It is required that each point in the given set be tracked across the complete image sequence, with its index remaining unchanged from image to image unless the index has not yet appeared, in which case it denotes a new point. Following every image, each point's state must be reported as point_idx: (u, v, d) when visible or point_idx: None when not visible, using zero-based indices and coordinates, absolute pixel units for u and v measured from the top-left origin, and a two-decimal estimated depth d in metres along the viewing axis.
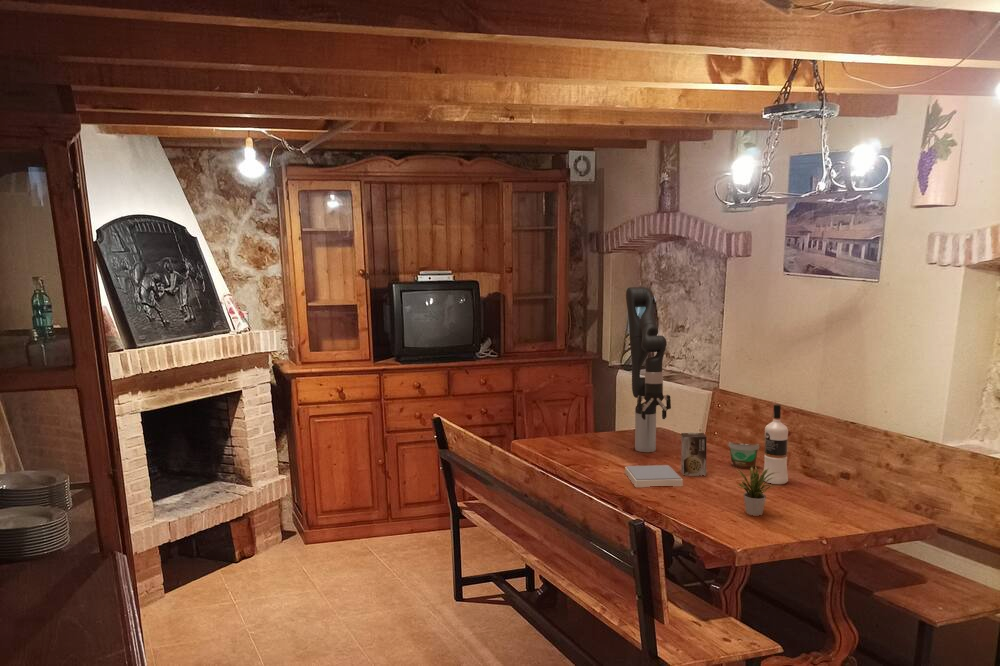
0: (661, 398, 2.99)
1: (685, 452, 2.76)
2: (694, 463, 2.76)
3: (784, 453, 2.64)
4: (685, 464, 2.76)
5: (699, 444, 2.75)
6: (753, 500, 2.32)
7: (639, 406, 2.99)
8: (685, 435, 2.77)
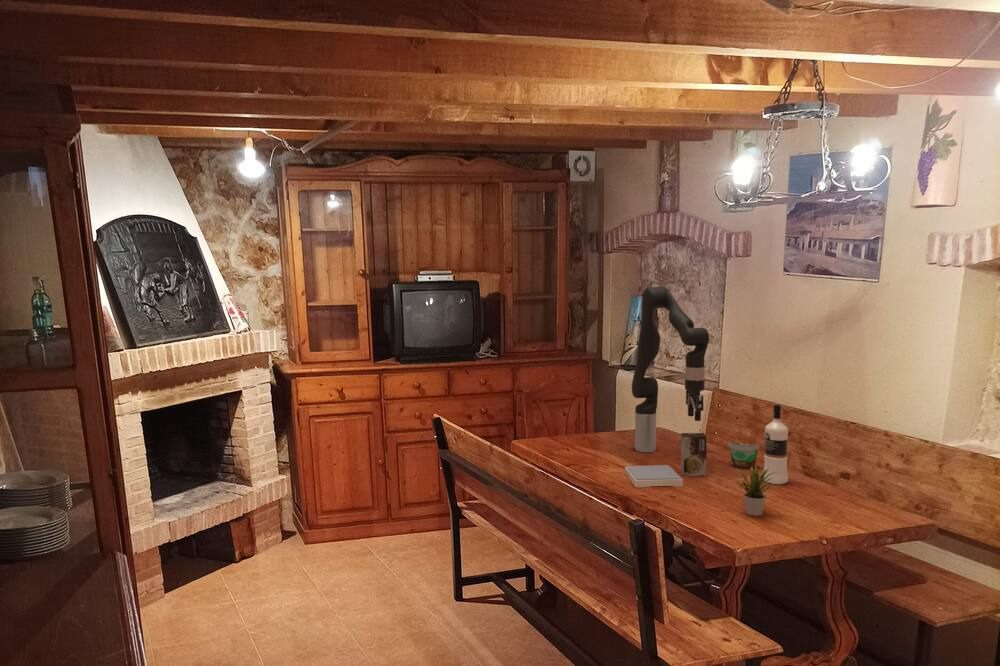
0: None
1: (685, 452, 2.76)
2: (694, 463, 2.76)
3: (784, 453, 2.64)
4: (685, 464, 2.76)
5: (699, 444, 2.75)
6: (753, 500, 2.32)
7: None
8: (685, 435, 2.77)
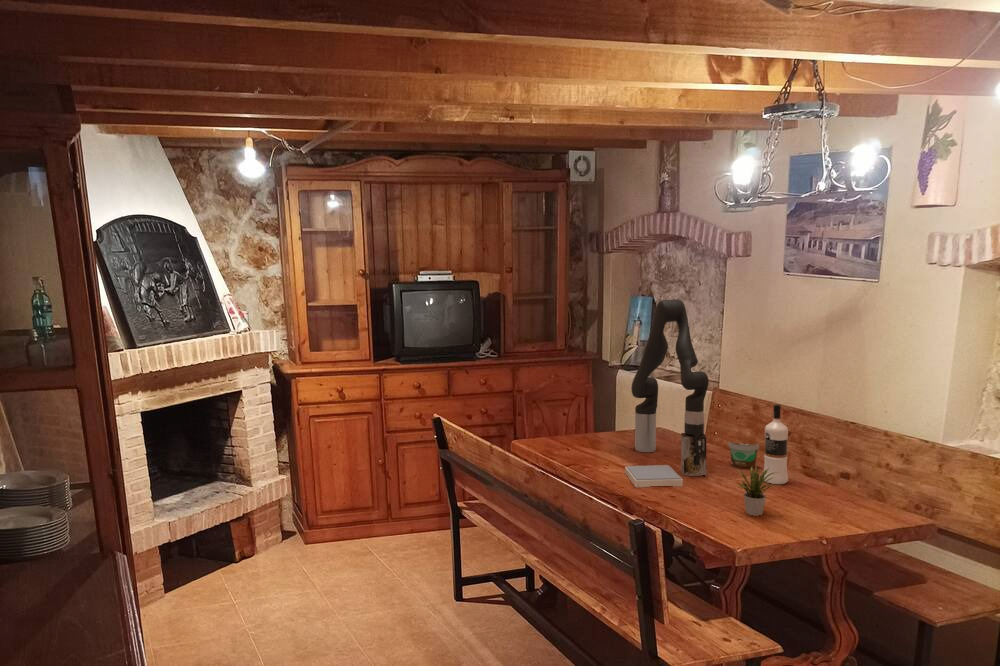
0: None
1: (685, 452, 2.76)
2: None
3: (784, 453, 2.64)
4: (685, 464, 2.76)
5: None
6: (753, 500, 2.32)
7: None
8: (685, 435, 2.77)
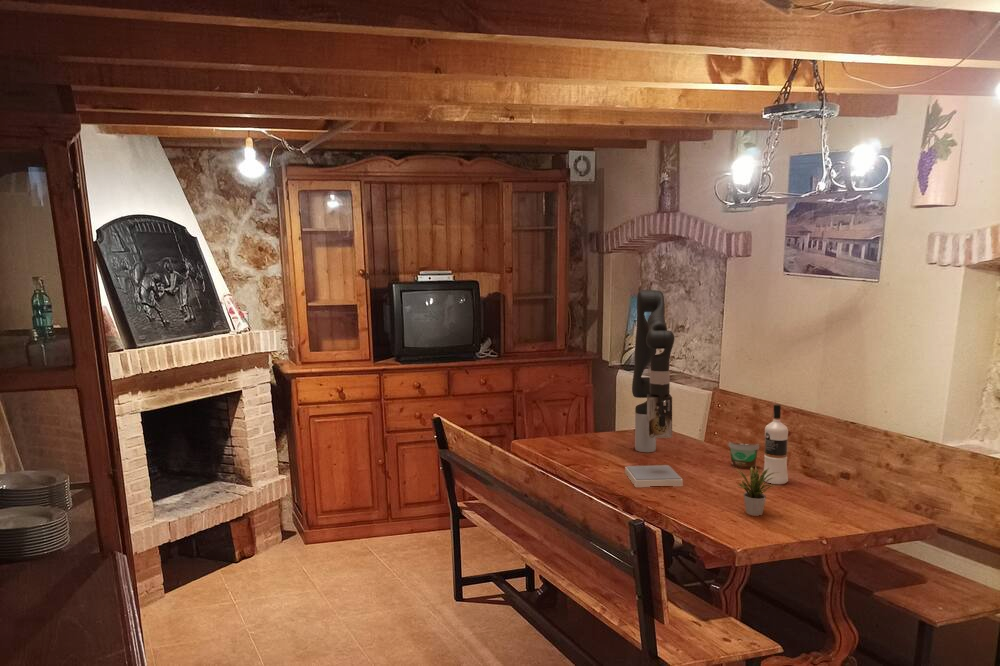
0: None
1: (650, 413, 2.68)
2: None
3: (784, 453, 2.64)
4: (650, 425, 2.68)
5: None
6: (753, 500, 2.32)
7: None
8: (650, 396, 2.69)
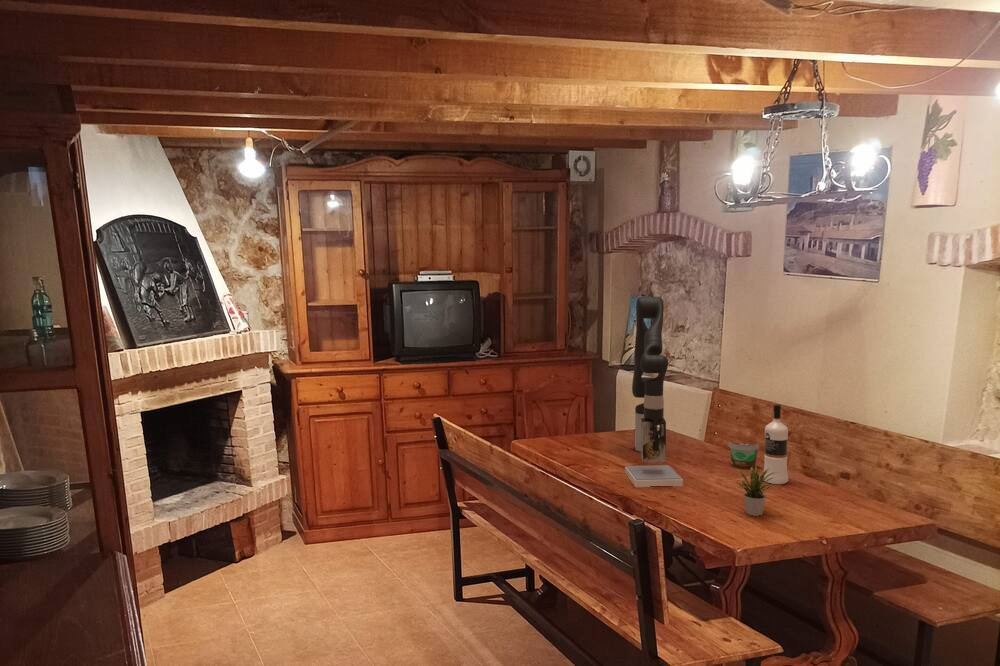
0: None
1: (644, 437, 2.68)
2: None
3: (784, 453, 2.64)
4: (644, 450, 2.69)
5: None
6: (753, 500, 2.32)
7: None
8: (644, 420, 2.70)
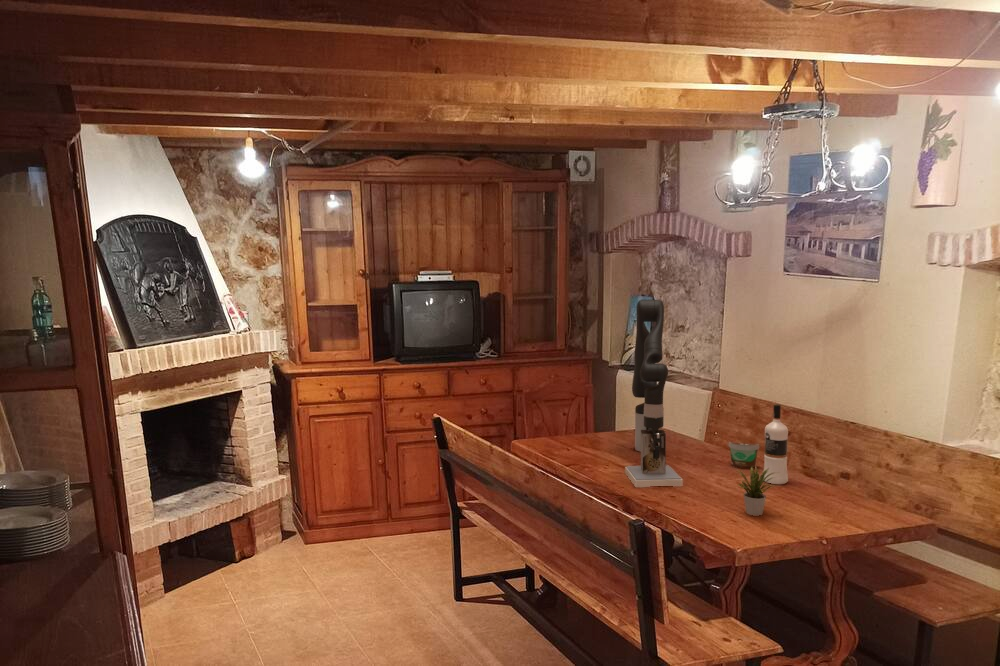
0: None
1: (644, 449, 2.69)
2: (653, 460, 2.69)
3: (784, 453, 2.64)
4: (644, 462, 2.69)
5: None
6: (753, 500, 2.32)
7: None
8: (644, 432, 2.70)
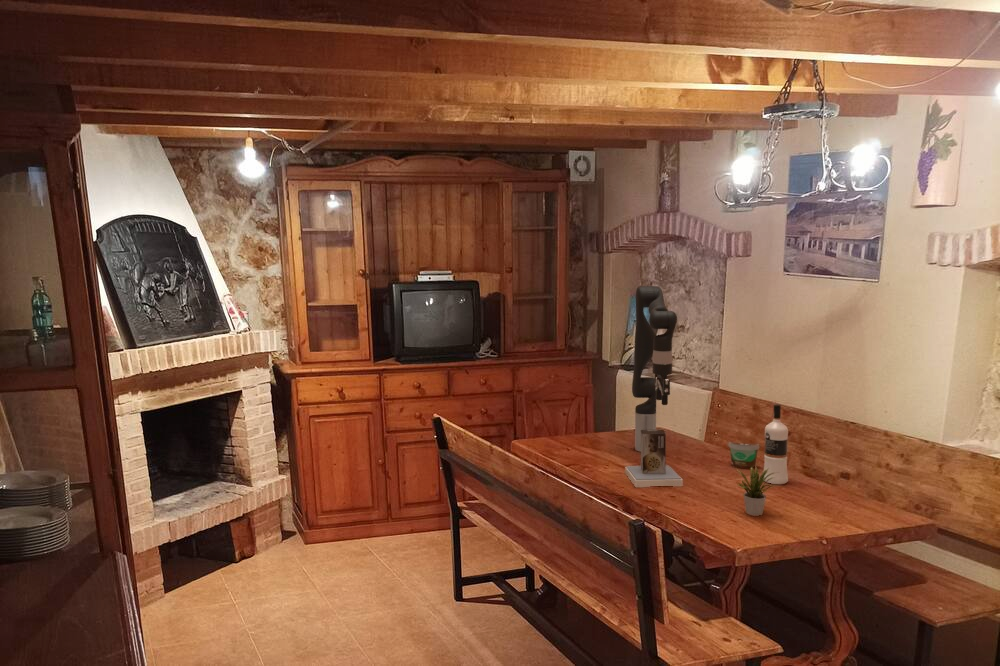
0: None
1: (644, 449, 2.69)
2: (653, 460, 2.69)
3: (784, 453, 2.64)
4: (644, 462, 2.69)
5: (658, 441, 2.68)
6: (753, 500, 2.32)
7: None
8: (644, 432, 2.70)
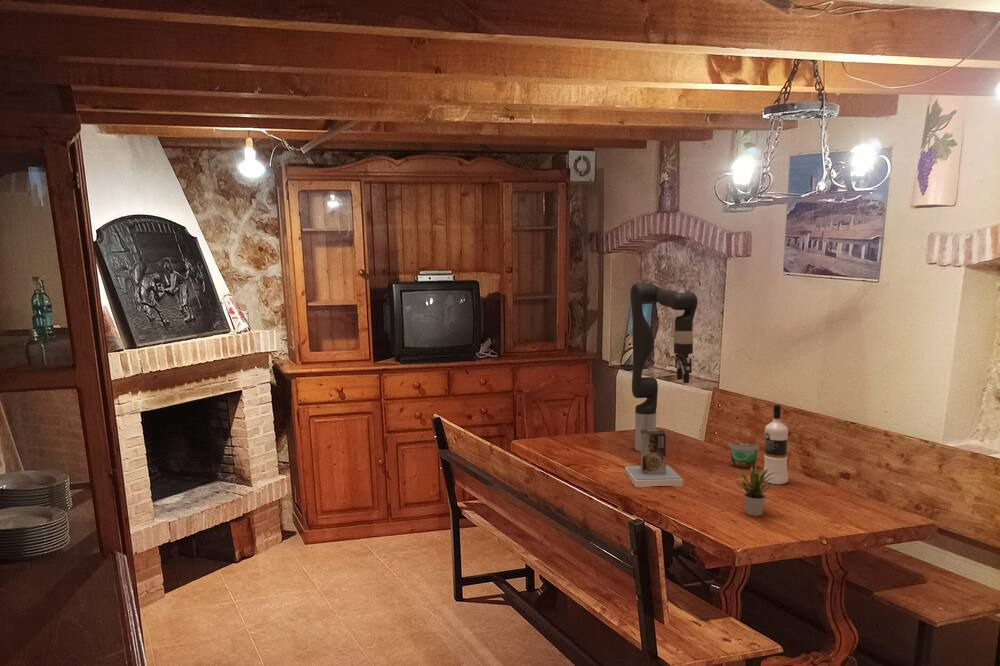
0: None
1: (644, 449, 2.69)
2: (653, 460, 2.69)
3: (784, 453, 2.64)
4: (644, 462, 2.69)
5: (658, 441, 2.68)
6: (753, 500, 2.32)
7: None
8: (644, 432, 2.70)
